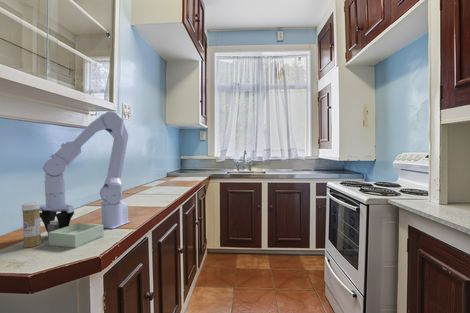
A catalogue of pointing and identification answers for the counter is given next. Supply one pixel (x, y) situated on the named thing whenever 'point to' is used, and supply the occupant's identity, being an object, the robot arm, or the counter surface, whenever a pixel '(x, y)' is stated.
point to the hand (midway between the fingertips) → (57, 231)
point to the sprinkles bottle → (31, 224)
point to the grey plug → (53, 226)
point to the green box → (76, 235)
